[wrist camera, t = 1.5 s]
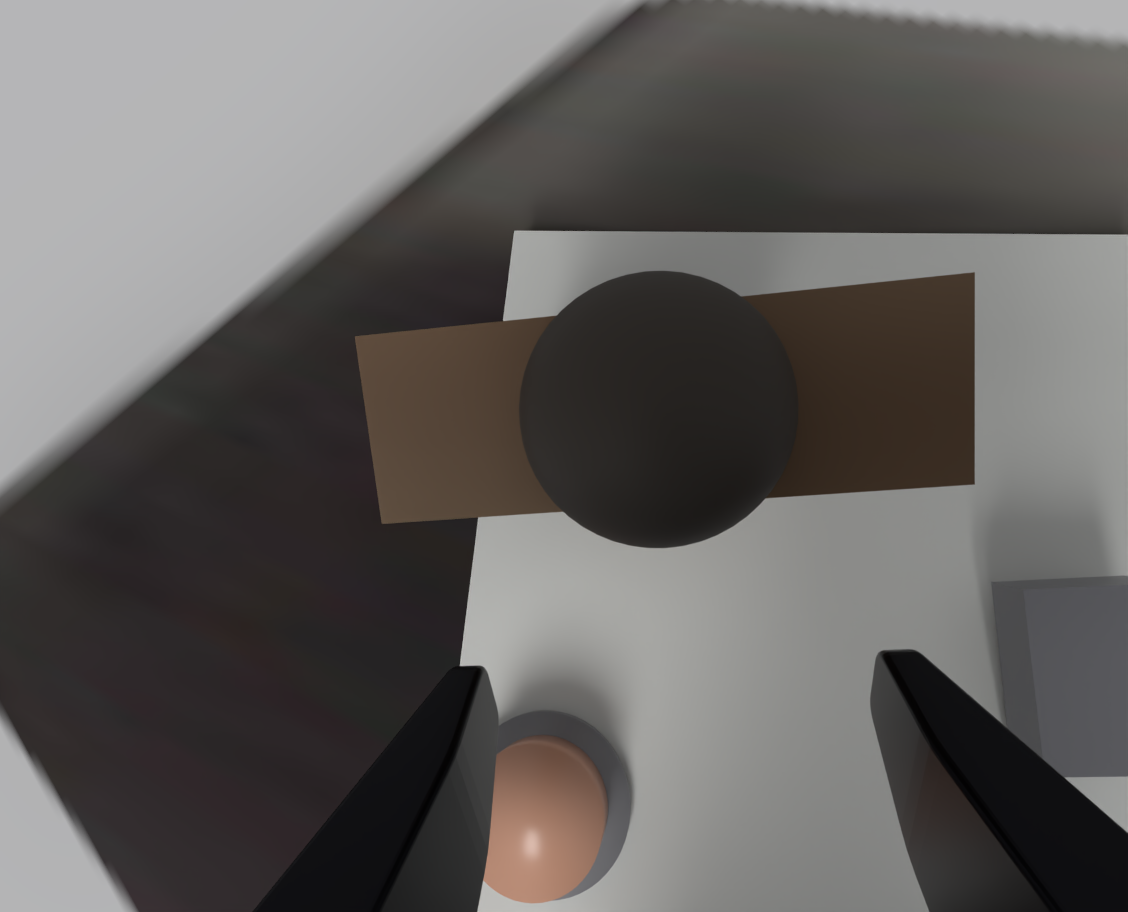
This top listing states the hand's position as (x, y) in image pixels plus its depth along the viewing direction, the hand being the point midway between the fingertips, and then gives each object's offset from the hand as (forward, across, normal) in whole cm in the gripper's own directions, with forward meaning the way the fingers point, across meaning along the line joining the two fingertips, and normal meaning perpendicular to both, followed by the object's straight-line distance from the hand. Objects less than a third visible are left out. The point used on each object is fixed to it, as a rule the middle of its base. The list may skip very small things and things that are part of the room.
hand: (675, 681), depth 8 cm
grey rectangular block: (+7, -10, +8) cm, 15 cm away
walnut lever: (+14, 0, +2) cm, 14 cm away
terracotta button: (+5, +4, +11) cm, 13 cm away
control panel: (+11, -4, +8) cm, 14 cm away
